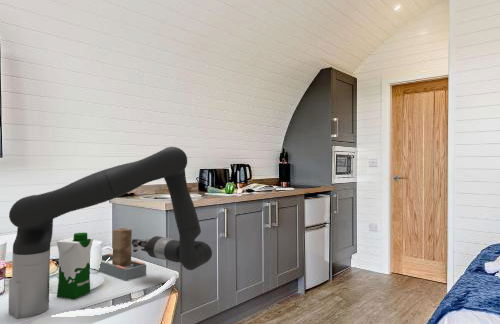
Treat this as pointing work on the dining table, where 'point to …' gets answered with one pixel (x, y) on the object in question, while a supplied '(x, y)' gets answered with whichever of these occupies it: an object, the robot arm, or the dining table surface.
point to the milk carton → (74, 266)
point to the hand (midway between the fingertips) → (133, 241)
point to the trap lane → (122, 269)
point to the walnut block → (122, 247)
